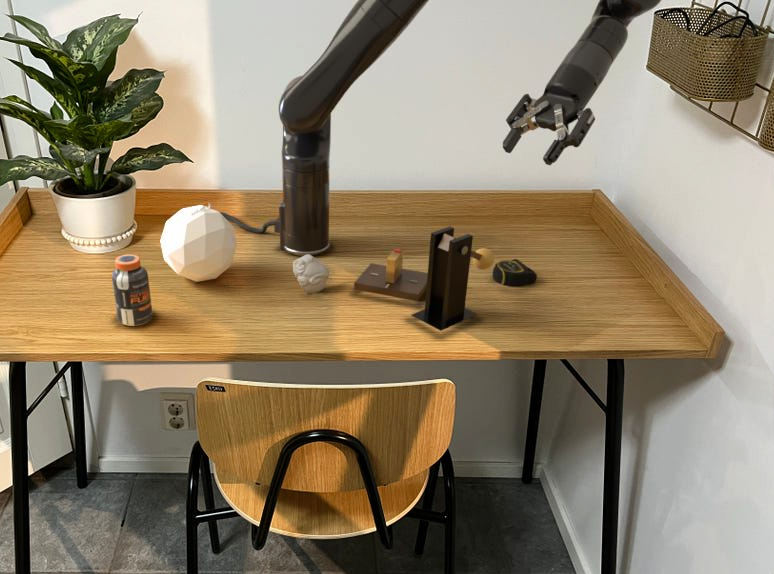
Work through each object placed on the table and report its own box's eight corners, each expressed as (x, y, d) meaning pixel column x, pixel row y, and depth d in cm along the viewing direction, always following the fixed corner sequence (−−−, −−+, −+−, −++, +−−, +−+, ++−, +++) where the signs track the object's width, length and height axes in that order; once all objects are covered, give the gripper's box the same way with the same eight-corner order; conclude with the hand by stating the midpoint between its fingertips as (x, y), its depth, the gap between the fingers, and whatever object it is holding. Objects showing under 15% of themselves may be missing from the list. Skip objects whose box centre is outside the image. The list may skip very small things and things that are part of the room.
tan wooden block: (393, 283, 138) (395, 259, 135) (385, 282, 138) (386, 257, 136) (402, 273, 141) (403, 249, 139) (393, 272, 142) (395, 247, 139)
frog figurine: (301, 281, 145) (301, 247, 141) (335, 289, 142) (336, 254, 138) (287, 295, 140) (286, 260, 136) (321, 303, 137) (321, 267, 134)
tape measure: (536, 289, 141) (539, 270, 139) (503, 295, 139) (506, 276, 137) (516, 274, 146) (519, 256, 144) (484, 279, 145) (487, 261, 143)
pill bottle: (136, 330, 130) (127, 269, 124) (110, 321, 132) (101, 261, 126) (160, 315, 134) (152, 255, 128) (134, 307, 137) (126, 248, 131)
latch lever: (476, 267, 134) (485, 248, 133) (492, 274, 131) (501, 254, 131) (433, 249, 124) (442, 228, 124) (449, 256, 122) (459, 235, 121)
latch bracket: (446, 305, 136) (454, 221, 128) (476, 320, 131) (487, 233, 123) (410, 320, 131) (416, 234, 123) (440, 337, 127) (448, 248, 118)
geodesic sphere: (186, 222, 154) (162, 181, 141) (254, 229, 151) (235, 187, 138) (166, 289, 150) (139, 252, 136) (236, 297, 146) (215, 261, 133)
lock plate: (353, 294, 140) (354, 281, 138) (370, 275, 147) (371, 262, 145) (417, 307, 136) (418, 293, 134) (431, 285, 143) (432, 272, 141)
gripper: (537, 55, 133) (484, 134, 133) (609, 69, 123) (553, 153, 123) (551, 83, 138) (501, 158, 138) (621, 98, 129) (567, 179, 129)
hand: (525, 156), depth 131 cm, fingers open, 8 cm apart
